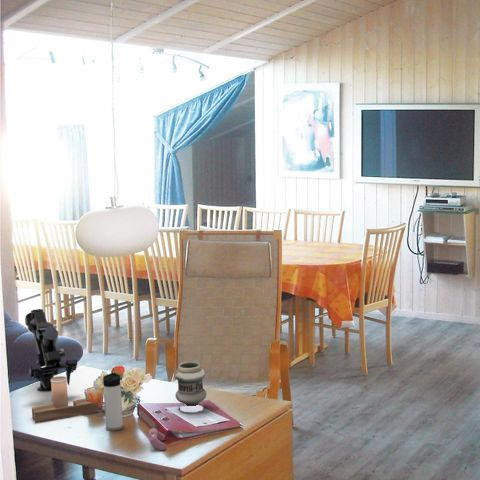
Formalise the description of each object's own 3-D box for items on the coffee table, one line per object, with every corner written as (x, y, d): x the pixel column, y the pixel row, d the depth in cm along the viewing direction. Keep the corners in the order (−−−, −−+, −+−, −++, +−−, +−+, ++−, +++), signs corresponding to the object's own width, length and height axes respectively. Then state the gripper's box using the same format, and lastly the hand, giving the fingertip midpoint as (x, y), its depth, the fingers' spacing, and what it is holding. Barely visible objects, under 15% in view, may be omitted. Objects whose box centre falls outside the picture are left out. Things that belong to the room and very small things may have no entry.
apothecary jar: (170, 412, 312) (168, 367, 310) (184, 402, 324) (182, 358, 321) (199, 415, 308) (197, 370, 305) (212, 405, 319) (210, 361, 316)
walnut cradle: (32, 417, 312) (31, 407, 312) (93, 406, 322) (92, 397, 321) (35, 423, 306) (34, 413, 305) (98, 412, 315) (97, 402, 315)
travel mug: (125, 424, 302) (122, 372, 299) (120, 431, 295) (117, 378, 292) (108, 424, 302) (105, 372, 299) (103, 431, 296) (100, 378, 293)
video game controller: (155, 444, 286) (145, 428, 284) (166, 438, 286) (157, 421, 285) (155, 455, 276) (145, 439, 275) (167, 449, 276) (157, 432, 275)
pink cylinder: (51, 406, 323) (49, 377, 322) (66, 404, 326) (64, 375, 324) (54, 411, 318) (52, 382, 316) (69, 408, 320) (68, 379, 319)
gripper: (28, 345, 323) (35, 380, 314) (74, 339, 330) (82, 372, 322) (26, 359, 331) (33, 393, 323) (71, 353, 339) (79, 386, 330)
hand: (57, 386), depth 324 cm, fingers open, 9 cm apart
